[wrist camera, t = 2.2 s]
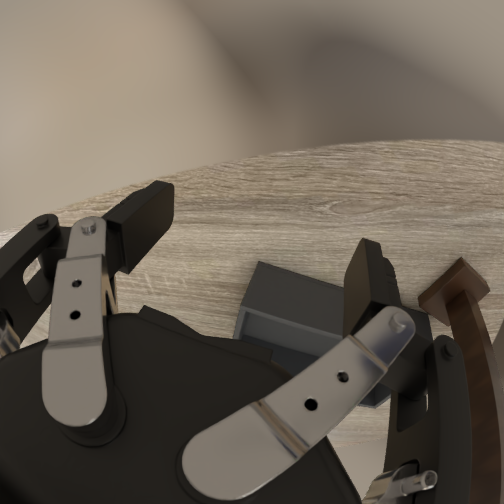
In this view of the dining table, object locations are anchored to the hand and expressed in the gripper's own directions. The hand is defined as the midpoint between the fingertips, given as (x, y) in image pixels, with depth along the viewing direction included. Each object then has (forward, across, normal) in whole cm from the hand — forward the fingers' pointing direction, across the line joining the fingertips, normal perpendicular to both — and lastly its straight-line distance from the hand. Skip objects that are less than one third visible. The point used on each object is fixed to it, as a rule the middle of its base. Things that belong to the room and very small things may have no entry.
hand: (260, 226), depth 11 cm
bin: (+14, -10, +20) cm, 26 cm away
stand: (+14, -21, +9) cm, 27 cm away
